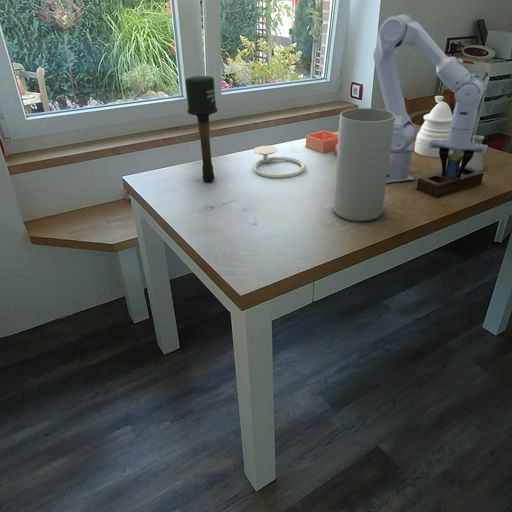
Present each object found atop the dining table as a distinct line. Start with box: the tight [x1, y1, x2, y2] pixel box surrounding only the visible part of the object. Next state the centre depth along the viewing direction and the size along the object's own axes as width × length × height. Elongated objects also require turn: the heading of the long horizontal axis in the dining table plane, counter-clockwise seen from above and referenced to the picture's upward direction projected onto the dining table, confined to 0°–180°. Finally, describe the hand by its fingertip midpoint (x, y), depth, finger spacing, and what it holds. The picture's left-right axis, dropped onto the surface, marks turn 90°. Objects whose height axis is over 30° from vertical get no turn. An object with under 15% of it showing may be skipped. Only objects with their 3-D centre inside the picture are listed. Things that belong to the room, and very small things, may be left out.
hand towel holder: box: [252, 145, 306, 179], centre depth 143 cm, size 17×4×21 cm
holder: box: [416, 166, 485, 199], centre depth 126 cm, size 7×18×4 cm, turn 119°
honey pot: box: [413, 95, 455, 158], centre depth 149 cm, size 13×13×18 cm
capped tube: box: [445, 153, 463, 179], centre depth 125 cm, size 4×4×9 cm
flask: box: [460, 135, 485, 172], centre depth 136 cm, size 7×7×10 cm
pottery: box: [305, 130, 339, 156], centre depth 155 cm, size 18×10×10 cm, turn 36°
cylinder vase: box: [333, 107, 395, 222], centre depth 108 cm, size 12×12×25 cm
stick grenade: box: [185, 75, 218, 183], centre depth 128 cm, size 8×9×30 cm
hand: (451, 174), depth 125 cm, fingers closed on capped tube, 3 cm apart
